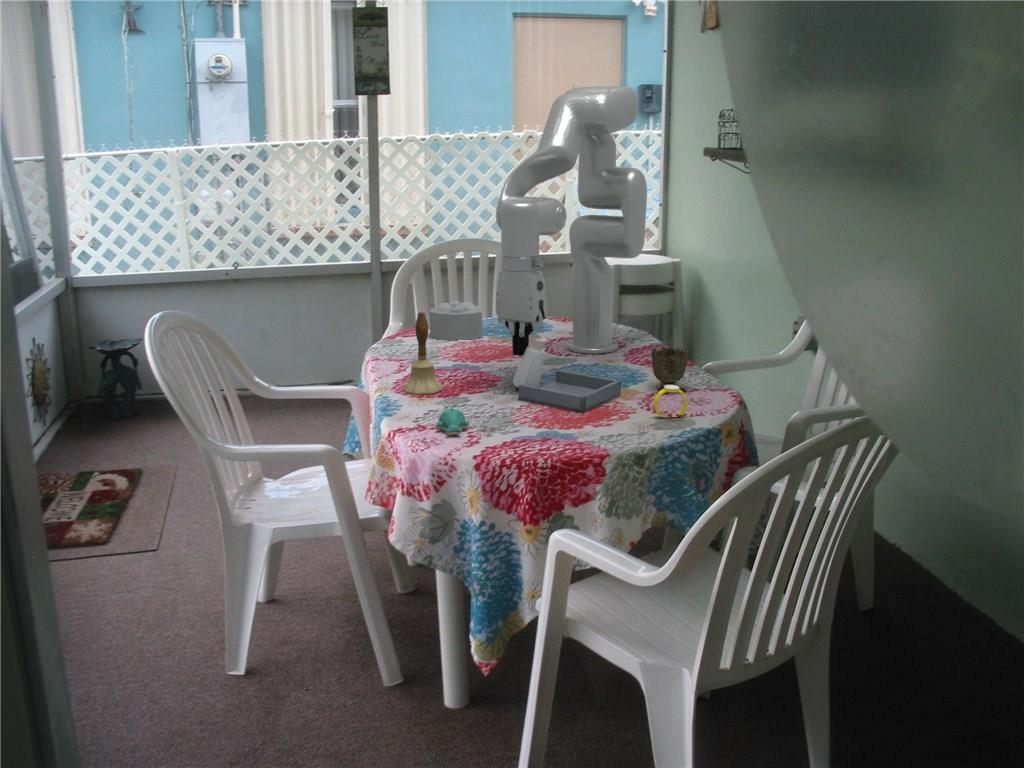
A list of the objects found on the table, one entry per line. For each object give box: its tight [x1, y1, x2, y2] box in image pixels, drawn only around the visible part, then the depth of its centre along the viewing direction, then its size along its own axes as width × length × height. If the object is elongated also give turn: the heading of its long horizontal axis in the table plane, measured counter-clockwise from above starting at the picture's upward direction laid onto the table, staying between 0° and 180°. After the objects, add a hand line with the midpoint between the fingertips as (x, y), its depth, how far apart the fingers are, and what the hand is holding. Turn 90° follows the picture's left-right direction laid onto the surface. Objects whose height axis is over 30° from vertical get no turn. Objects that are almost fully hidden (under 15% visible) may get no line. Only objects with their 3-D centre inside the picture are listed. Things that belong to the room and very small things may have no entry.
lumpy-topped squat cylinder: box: [429, 300, 483, 342], centre depth 237 cm, size 10×13×9 cm
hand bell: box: [402, 311, 445, 395], centre depth 190 cm, size 8×8×16 cm
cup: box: [650, 345, 689, 389], centre depth 190 cm, size 8×7×8 cm
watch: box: [653, 385, 688, 418], centre depth 172 cm, size 6×3×6 cm, turn 95°
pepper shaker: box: [512, 334, 547, 389], centre depth 189 cm, size 5×5×11 cm
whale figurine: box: [435, 408, 470, 436], centre depth 166 cm, size 6×7×4 cm
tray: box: [518, 369, 622, 414], centre depth 185 cm, size 14×15×3 cm
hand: (520, 354), depth 190 cm, fingers closed
